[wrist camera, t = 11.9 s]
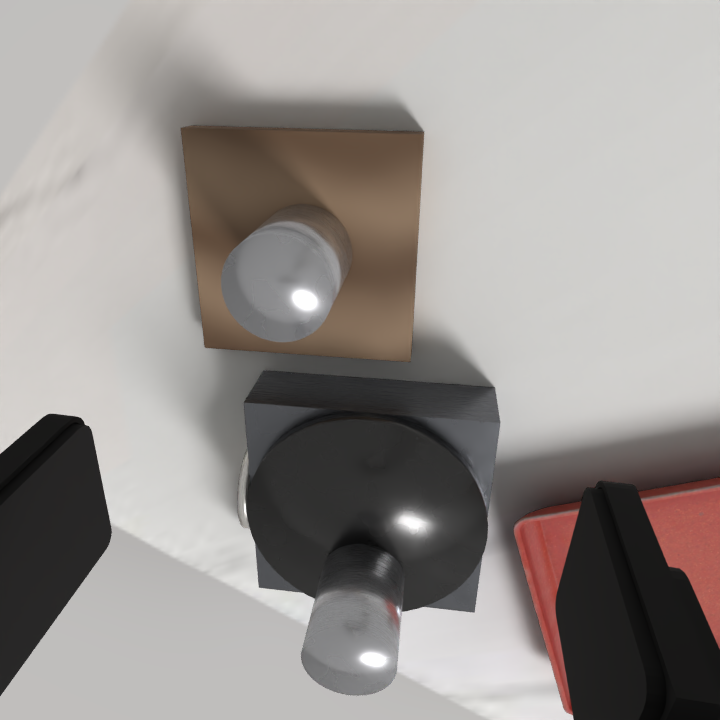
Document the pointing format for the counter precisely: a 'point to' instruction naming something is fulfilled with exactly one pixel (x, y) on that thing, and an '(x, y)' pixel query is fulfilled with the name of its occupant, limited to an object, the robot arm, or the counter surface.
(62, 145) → the counter surface
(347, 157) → the walnut board
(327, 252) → the cylinder
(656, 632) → the robot arm
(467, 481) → the scale
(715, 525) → the plant saucer
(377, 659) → the cylinder
